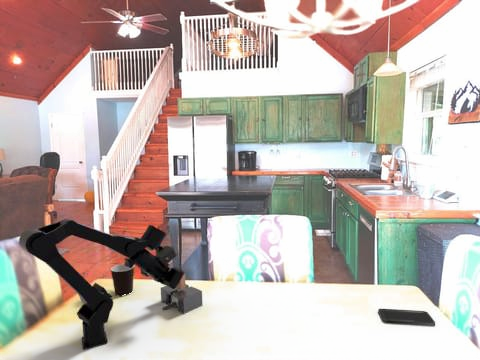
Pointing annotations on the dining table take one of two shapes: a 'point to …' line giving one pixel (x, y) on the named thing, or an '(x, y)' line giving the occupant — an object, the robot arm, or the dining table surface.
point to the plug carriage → (179, 287)
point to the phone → (406, 317)
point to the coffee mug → (122, 279)
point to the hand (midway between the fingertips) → (176, 284)
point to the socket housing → (183, 297)
